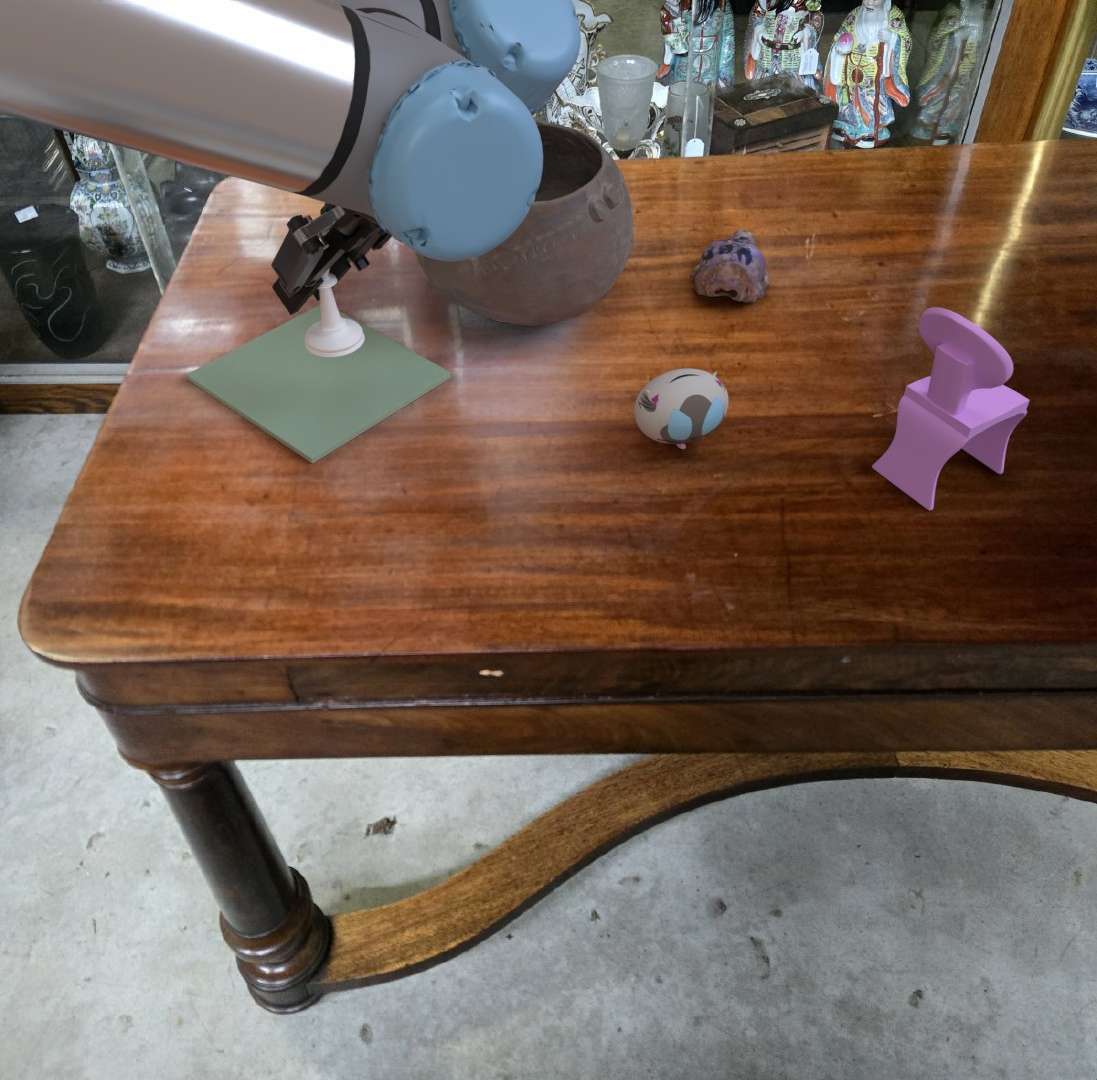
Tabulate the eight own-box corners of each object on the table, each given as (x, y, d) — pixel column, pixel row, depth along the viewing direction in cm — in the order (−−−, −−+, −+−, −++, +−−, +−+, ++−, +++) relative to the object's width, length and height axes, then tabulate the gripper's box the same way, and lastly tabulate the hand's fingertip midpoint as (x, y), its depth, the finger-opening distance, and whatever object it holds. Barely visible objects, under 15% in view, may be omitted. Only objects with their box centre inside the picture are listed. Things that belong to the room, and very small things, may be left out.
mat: (312, 464, 86) (311, 458, 85) (187, 379, 94) (185, 374, 94) (451, 377, 94) (451, 372, 93) (324, 307, 103) (323, 302, 102)
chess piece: (367, 323, 88) (349, 213, 81) (361, 356, 85) (342, 245, 78) (309, 325, 88) (286, 215, 81) (301, 358, 85) (276, 246, 78)
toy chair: (1017, 477, 83) (1082, 315, 72) (939, 518, 80) (995, 355, 69) (938, 423, 88) (988, 265, 78) (862, 460, 85) (903, 299, 74)
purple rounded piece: (717, 242, 110) (730, 190, 105) (785, 266, 108) (802, 215, 103) (675, 303, 102) (687, 250, 98) (748, 330, 101) (764, 277, 96)
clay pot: (664, 332, 98) (675, 181, 88) (453, 379, 94) (438, 225, 83) (583, 232, 113) (584, 91, 102) (396, 268, 108) (377, 124, 97)
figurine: (650, 475, 84) (654, 409, 79) (619, 432, 88) (622, 367, 83) (737, 451, 86) (747, 385, 81) (704, 410, 90) (711, 345, 85)
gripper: (355, 249, 63) (249, 371, 83) (525, 163, 71) (392, 294, 91) (283, 139, 62) (194, 290, 82) (464, 65, 70) (343, 219, 90)
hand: (298, 292), depth 86 cm, fingers closed on chess piece, 2 cm apart
